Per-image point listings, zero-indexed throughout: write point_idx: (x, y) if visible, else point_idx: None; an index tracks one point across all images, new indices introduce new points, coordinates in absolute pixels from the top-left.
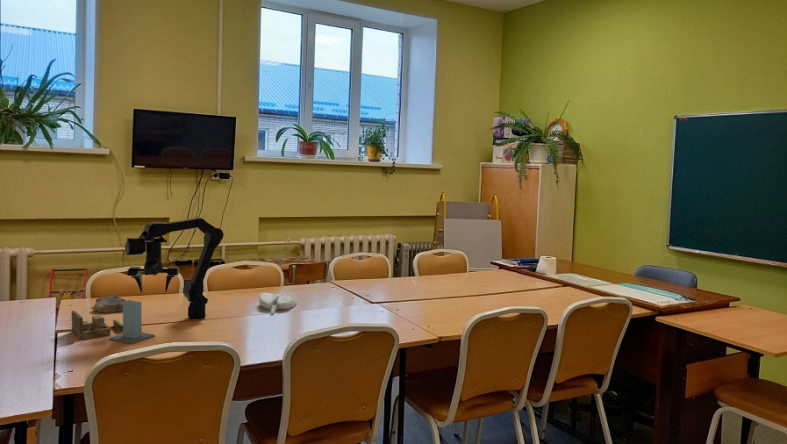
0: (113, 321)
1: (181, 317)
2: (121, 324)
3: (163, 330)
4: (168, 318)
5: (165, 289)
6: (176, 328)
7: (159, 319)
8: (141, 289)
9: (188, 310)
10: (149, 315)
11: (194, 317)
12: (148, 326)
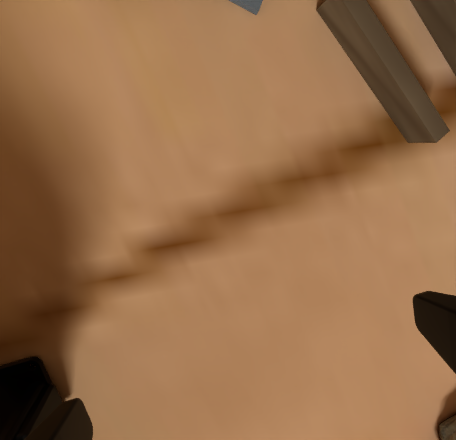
0: (440, 125)
1: (108, 383)
2: (362, 23)
3: (75, 80)
4: (176, 348)
5: (58, 426)
6: (9, 141)
7: (218, 319)
8: (451, 305)
9: (32, 415)
10: (306, 379)
11: (2, 377)
12: (218, 162)
